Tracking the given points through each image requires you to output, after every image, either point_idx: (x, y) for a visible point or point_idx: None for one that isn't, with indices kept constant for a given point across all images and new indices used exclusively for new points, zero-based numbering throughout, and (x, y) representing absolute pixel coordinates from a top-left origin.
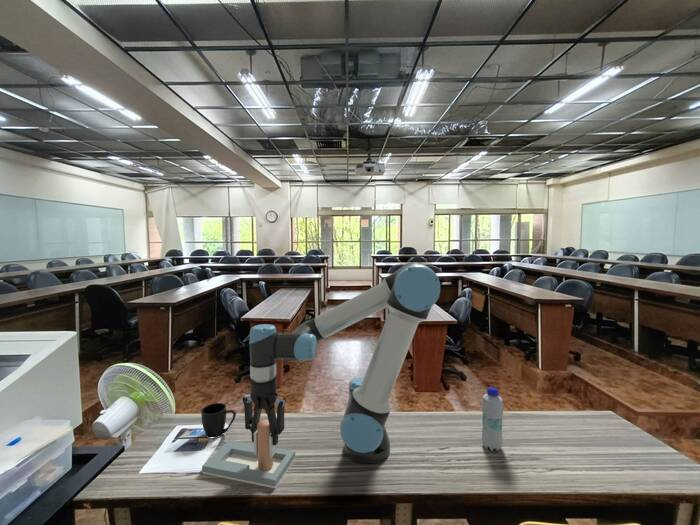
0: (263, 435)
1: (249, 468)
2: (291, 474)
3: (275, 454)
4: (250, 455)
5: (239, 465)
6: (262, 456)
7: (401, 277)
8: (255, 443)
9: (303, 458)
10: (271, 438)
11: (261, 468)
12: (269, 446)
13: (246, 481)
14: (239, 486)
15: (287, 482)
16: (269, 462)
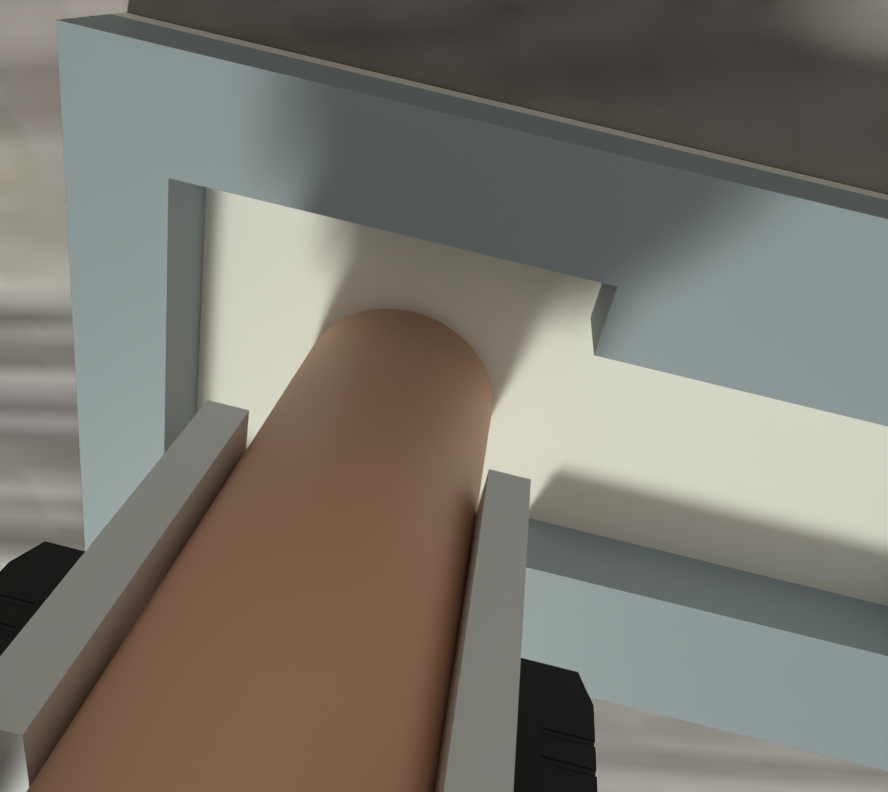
0: (150, 754)
1: (592, 333)
2: (55, 278)
3: None
4: (650, 562)
5: (752, 349)
6: (352, 410)
7: None
8: (486, 619)
9: (51, 512)
10: (2, 663)
11: (414, 324)
12: (160, 528)
13: (579, 123)
14: (664, 37)
15: (33, 139)
16: (293, 379)
